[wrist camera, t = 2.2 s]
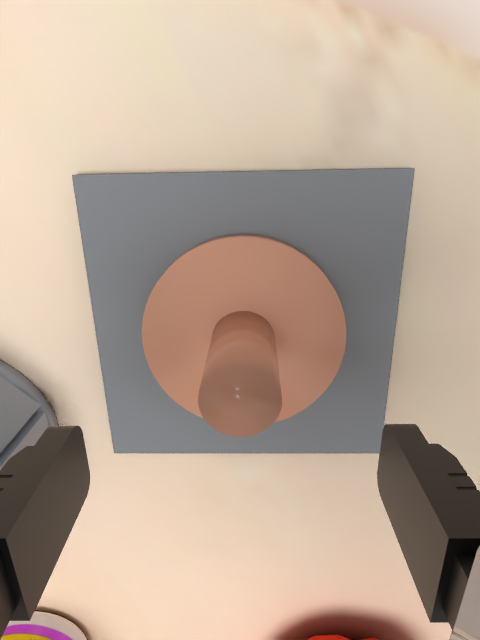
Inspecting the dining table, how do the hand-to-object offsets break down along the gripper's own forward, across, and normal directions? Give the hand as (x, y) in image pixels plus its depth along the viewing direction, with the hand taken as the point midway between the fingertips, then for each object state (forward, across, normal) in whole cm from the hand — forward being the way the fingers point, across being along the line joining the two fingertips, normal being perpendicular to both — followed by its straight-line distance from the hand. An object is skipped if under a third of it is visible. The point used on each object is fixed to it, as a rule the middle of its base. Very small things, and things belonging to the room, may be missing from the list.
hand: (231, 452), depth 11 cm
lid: (+9, 0, 0) cm, 9 cm away
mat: (+10, 0, 0) cm, 10 cm away
